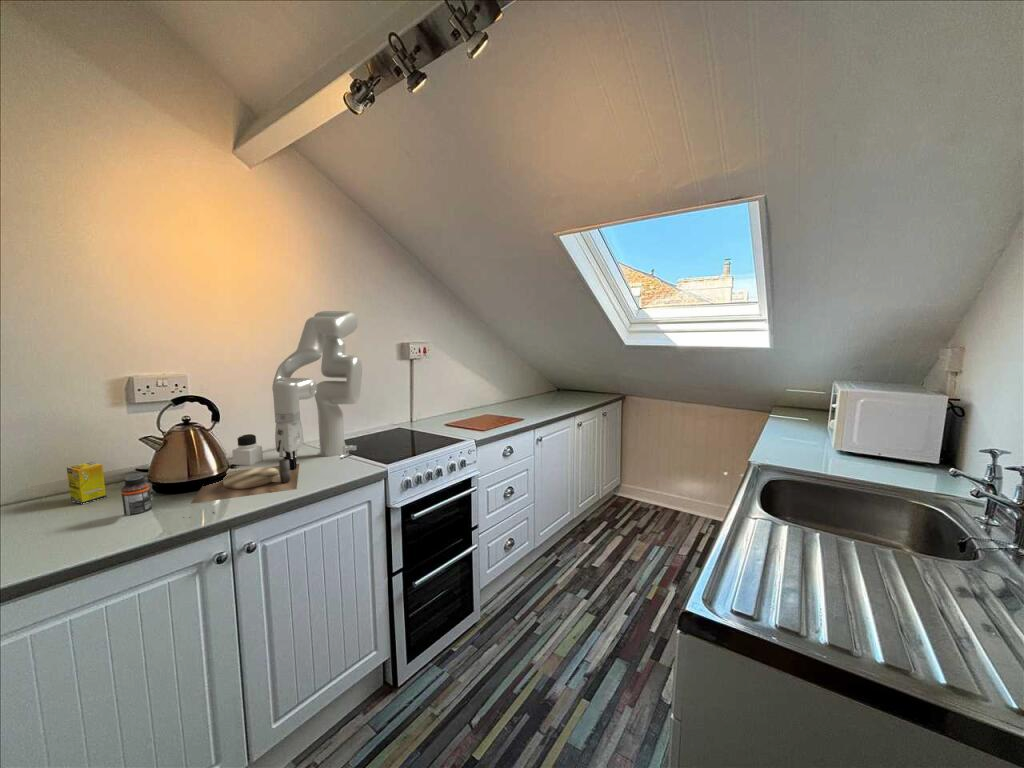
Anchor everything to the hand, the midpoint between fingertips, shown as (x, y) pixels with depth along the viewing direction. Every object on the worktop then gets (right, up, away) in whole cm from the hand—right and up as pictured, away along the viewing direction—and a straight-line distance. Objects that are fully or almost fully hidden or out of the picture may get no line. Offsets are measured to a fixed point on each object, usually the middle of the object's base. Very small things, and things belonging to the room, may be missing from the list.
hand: (290, 469), depth 145 cm
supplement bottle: (-29, -8, -26) cm, 40 cm away
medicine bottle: (-25, -2, +17) cm, 31 cm away
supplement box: (-54, -7, -15) cm, 57 cm away
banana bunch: (-9, -3, -3) cm, 10 cm away
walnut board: (-12, -5, -3) cm, 13 cm away
